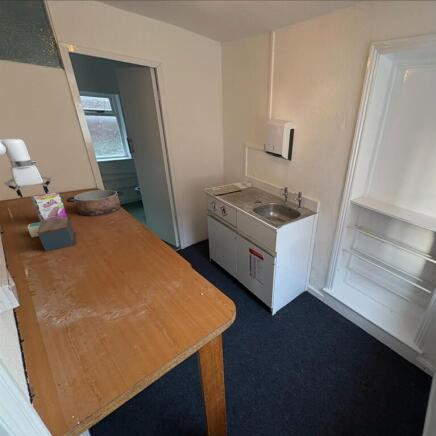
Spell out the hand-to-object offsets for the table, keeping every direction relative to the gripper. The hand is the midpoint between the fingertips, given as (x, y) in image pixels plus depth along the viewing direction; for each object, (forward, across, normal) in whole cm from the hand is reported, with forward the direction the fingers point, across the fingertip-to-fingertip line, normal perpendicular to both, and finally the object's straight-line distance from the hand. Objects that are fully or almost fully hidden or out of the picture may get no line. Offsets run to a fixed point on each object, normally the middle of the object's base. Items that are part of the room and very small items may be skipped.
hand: (34, 195), depth 128 cm
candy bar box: (+18, -4, -2) cm, 19 cm away
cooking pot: (+18, -28, -5) cm, 33 cm away
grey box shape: (+18, -1, +31) cm, 36 cm away
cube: (+18, +4, +13) cm, 23 cm away
